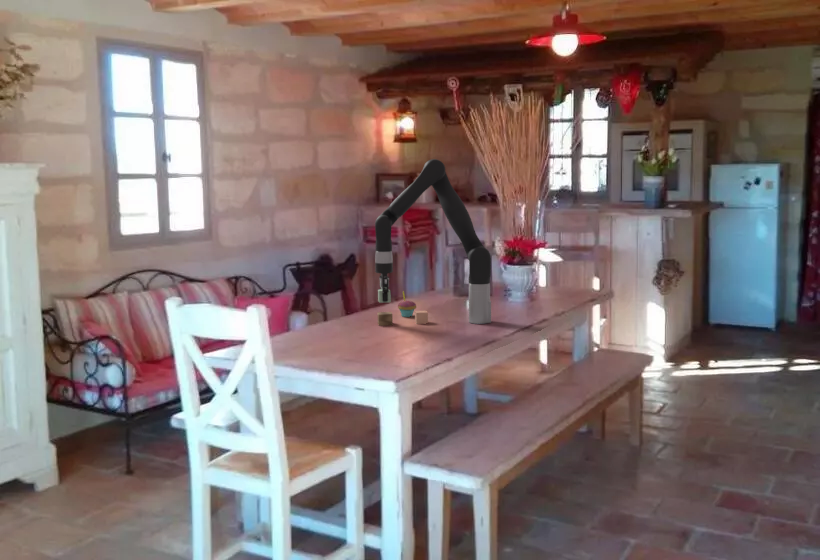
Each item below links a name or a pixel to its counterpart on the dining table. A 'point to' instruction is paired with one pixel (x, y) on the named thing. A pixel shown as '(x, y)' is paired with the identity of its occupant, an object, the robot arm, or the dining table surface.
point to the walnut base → (385, 318)
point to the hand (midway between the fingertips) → (384, 300)
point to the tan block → (421, 317)
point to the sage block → (382, 297)
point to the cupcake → (406, 307)
